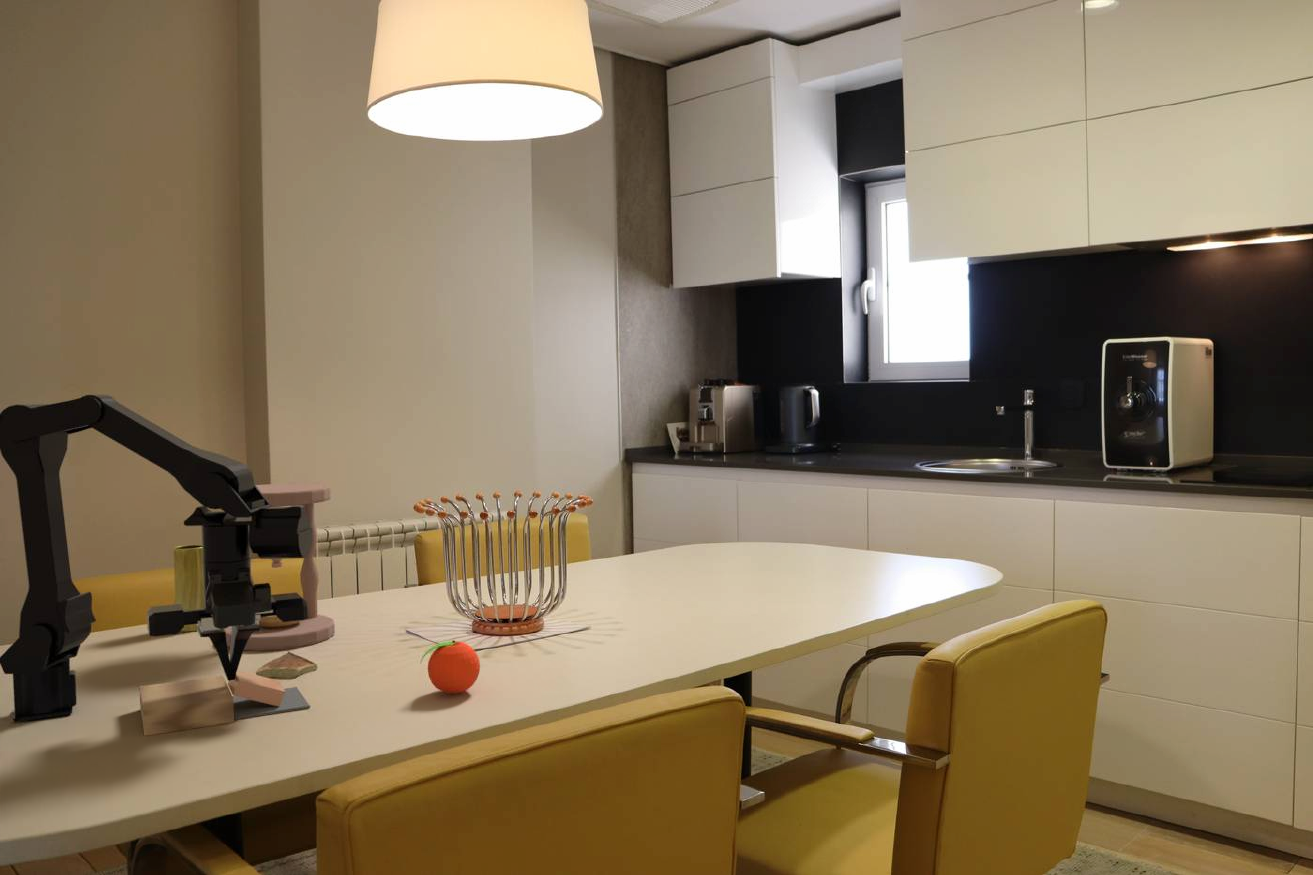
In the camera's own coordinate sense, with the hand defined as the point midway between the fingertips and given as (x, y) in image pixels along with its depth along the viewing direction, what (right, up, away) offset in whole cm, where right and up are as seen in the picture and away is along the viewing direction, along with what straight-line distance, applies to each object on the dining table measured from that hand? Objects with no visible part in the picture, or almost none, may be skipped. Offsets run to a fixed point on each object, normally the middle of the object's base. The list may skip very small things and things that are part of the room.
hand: (230, 679), depth 136 cm
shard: (0, -4, +19) cm, 20 cm away
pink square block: (+3, -2, +1) cm, 3 cm away
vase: (-26, -2, +48) cm, 54 cm away
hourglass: (-8, -2, +39) cm, 40 cm away
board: (-5, -4, -2) cm, 7 cm away
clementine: (+27, -3, +6) cm, 28 cm away
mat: (+4, -4, +2) cm, 6 cm away
